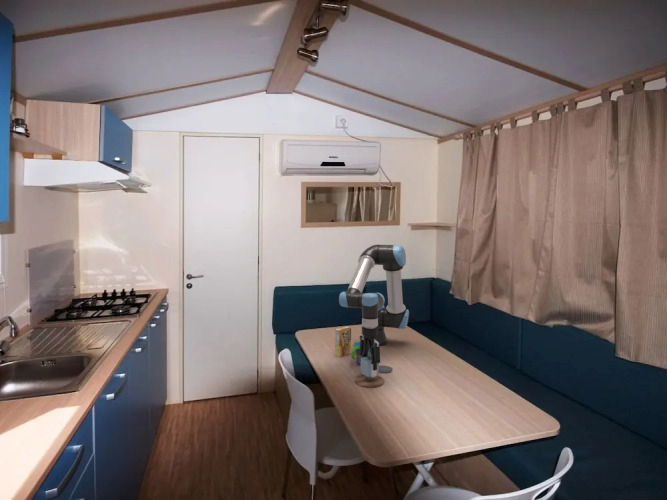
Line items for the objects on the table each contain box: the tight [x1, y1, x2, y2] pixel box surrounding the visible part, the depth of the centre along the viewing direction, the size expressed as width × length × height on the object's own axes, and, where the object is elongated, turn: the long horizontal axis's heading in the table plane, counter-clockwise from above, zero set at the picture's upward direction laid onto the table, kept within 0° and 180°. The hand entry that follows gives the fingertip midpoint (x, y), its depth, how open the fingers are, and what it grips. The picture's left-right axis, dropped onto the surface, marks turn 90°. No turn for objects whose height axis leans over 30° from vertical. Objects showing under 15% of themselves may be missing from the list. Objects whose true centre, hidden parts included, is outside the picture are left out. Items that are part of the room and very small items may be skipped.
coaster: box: [379, 364, 393, 374], centre depth 204 cm, size 9×9×1 cm
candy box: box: [334, 326, 352, 358], centre depth 226 cm, size 9×4×15 cm, turn 129°
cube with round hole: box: [360, 356, 380, 377], centre depth 190 cm, size 6×6×8 cm
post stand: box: [354, 374, 385, 389], centre depth 190 cm, size 14×14×10 cm
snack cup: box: [351, 341, 373, 365], centre depth 214 cm, size 16×10×10 cm
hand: (369, 373), depth 190 cm, fingers closed on cube with round hole, 6 cm apart
